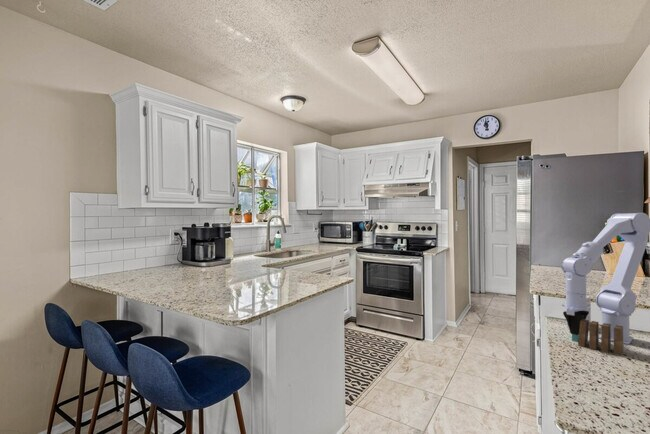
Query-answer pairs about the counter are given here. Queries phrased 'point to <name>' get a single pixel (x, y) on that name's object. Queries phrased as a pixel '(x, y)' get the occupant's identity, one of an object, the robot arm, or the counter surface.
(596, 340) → the domino
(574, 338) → the domino
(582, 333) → the domino
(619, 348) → the domino
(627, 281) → the robot arm
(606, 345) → the domino
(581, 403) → the counter surface
